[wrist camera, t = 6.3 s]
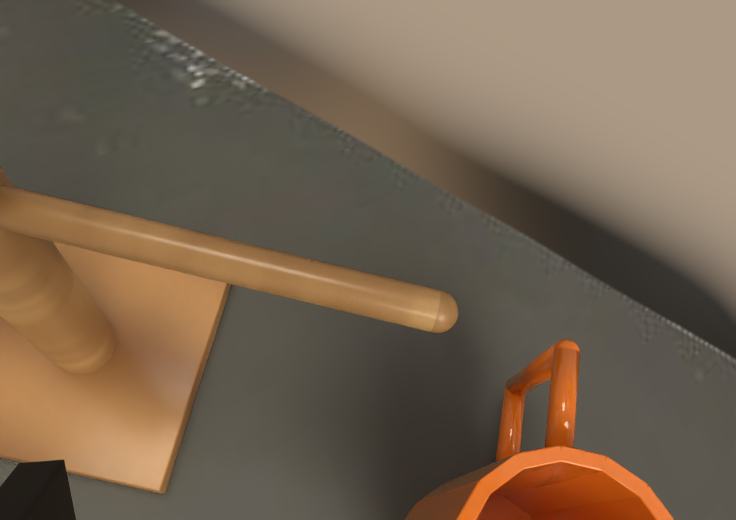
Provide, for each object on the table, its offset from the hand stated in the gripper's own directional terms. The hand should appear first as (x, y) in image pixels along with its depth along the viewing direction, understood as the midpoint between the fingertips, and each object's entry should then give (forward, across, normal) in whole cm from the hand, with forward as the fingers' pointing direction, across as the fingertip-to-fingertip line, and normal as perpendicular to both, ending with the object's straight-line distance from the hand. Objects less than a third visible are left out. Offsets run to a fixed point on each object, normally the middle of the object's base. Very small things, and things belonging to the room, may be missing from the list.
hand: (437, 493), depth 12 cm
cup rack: (+23, -10, -7) cm, 26 cm away
